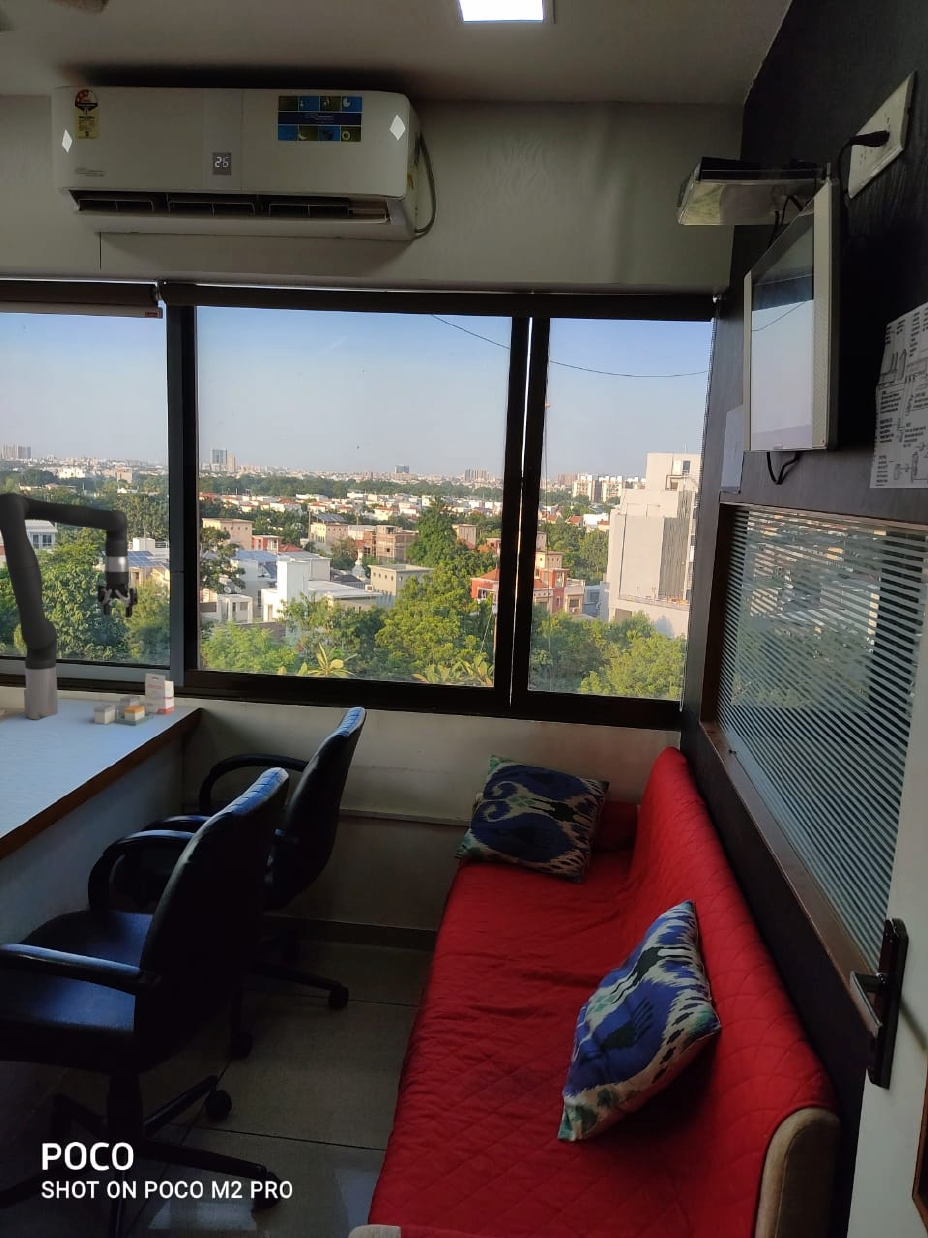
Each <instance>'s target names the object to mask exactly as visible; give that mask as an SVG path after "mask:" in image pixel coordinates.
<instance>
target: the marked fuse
mask: <svg viewBox="0 0 928 1238" xmlns="http://www.w3.org/2000/svg"><path fill="white" fill-rule="evenodd" d="M124 712H125V719H127V720H134V721H136V720H138V719H141V718H143V717H145V713H146V705H145V706H144V705H140V706H138V705H133V706H130V707H128V708H125V709H124Z"/></svg>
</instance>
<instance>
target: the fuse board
mask: <svg viewBox="0 0 928 1238" xmlns="http://www.w3.org/2000/svg"><path fill="white" fill-rule="evenodd" d="M140 700H141V696H140V695H135V694H128V695H125V696H122V697H120V698H119V702H120V703H117V704H116V705H113V704H107V703H104V704H101V705H98V706H95V707H94V708H93V712H94V720H92V721H90V722H89V723H91V724H98V725H105V726H110V725H111V724H115V718H117V717H119V716H122V715H124V714H125V712H124V709H125V708H128V707H130V706H133V705H138V706H141V703H140V702H141V701H140ZM116 708H117V709H116Z"/></svg>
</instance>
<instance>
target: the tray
mask: <svg viewBox="0 0 928 1238" xmlns="http://www.w3.org/2000/svg"><path fill="white" fill-rule="evenodd" d="M153 719H154V713H151V712H145V717H143V718H141V719H138V720H136V721H134V720H127V719H125V714H124V715H122V716H119V717H117V718H115V722H114V724H120V725H127V726H135V727H137V726H139V725H142V724H143V723H146V722H148V721H152V720H153Z"/></svg>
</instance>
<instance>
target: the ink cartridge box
mask: <svg viewBox="0 0 928 1238" xmlns="http://www.w3.org/2000/svg"><path fill="white" fill-rule="evenodd" d="M155 678H156V679H155ZM144 689H145V690H144V691H145V692H144V694H145V695H144V696H145V698H144V700H145V701H144V702H145V703H144V704H145V713H151V714H159V715H168V714H170V713H173V712H174V711H175V701H174V700H175V698H174V681H171V680H166V676H165V675H161V674H155V673H145V681H144Z"/></svg>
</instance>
